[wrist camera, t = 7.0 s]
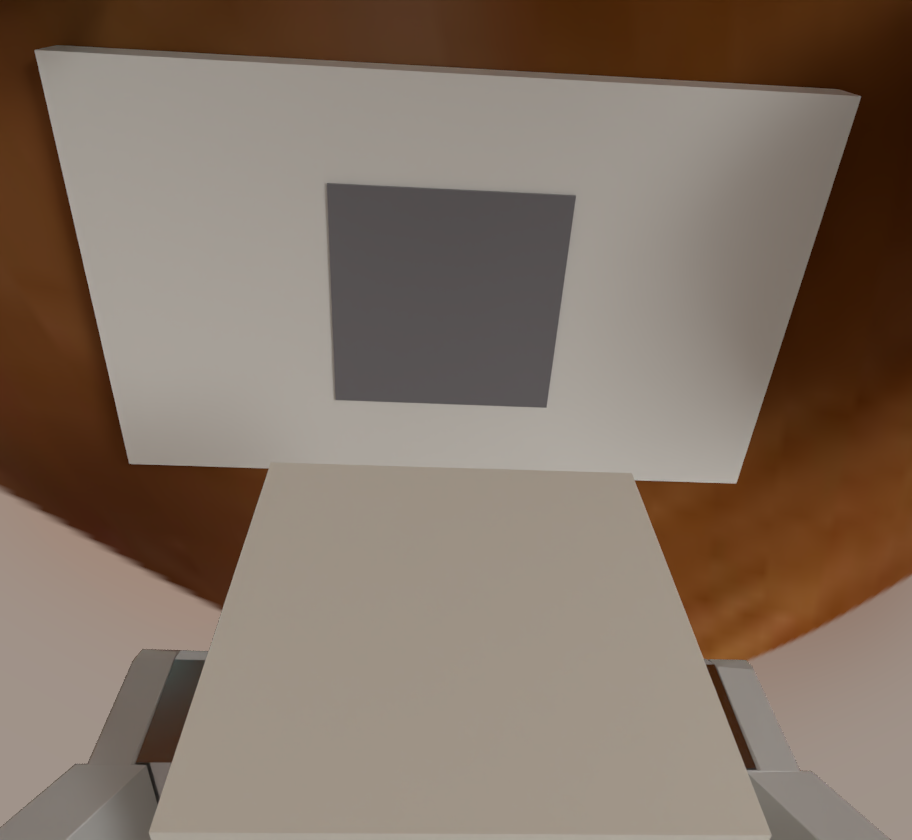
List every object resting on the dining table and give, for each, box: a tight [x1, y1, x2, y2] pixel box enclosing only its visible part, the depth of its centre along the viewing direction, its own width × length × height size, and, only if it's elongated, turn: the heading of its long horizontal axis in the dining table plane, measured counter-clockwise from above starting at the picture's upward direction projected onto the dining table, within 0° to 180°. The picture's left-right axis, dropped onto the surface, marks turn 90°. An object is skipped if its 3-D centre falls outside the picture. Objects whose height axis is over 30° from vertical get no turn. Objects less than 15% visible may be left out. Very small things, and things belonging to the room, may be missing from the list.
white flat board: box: [34, 45, 861, 483], centre depth 21 cm, size 20×12×1 cm, turn 87°
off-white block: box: [149, 462, 772, 840], centre depth 9 cm, size 5×5×5 cm
